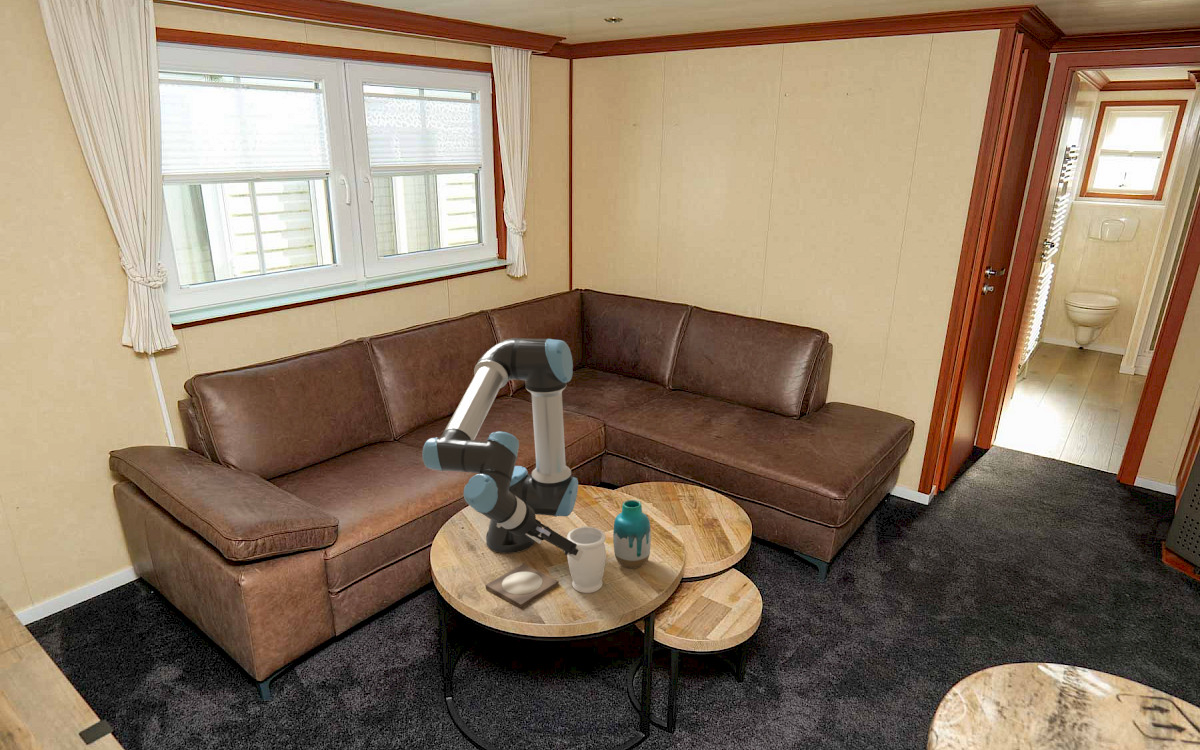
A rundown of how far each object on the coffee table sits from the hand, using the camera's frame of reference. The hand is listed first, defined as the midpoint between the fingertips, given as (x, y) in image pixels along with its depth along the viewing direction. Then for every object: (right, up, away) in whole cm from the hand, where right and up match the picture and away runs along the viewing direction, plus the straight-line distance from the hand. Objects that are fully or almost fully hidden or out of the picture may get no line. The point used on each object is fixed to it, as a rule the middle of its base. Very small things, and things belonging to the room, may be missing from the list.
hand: (560, 547), depth 177 cm
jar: (+7, -13, +12) cm, 19 cm away
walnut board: (-11, -14, +11) cm, 21 cm away
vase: (+19, -10, +21) cm, 31 cm away
